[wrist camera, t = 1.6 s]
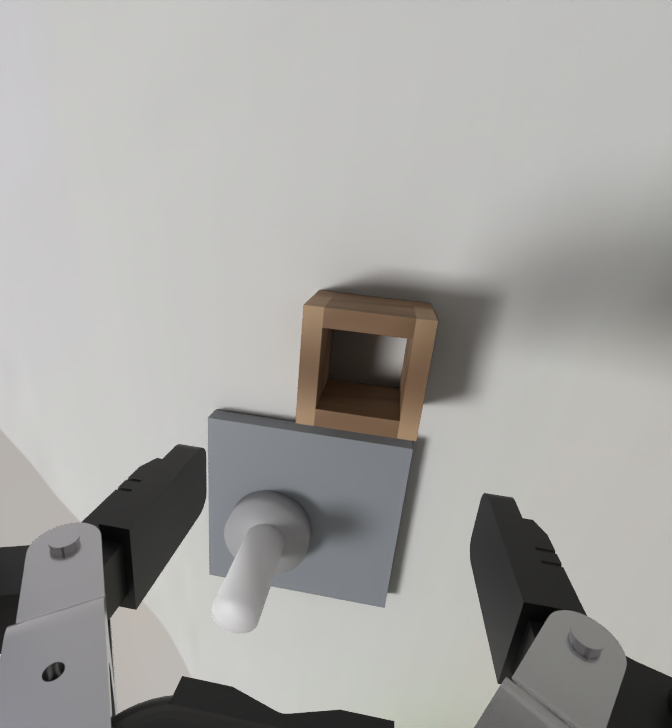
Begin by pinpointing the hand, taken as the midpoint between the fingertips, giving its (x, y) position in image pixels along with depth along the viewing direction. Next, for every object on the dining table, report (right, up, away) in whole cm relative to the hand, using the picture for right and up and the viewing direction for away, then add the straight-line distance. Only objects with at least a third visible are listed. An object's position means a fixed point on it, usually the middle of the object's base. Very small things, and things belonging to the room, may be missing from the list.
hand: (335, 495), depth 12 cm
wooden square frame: (+2, +5, +13) cm, 14 cm away
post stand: (-2, -6, +17) cm, 18 cm away
